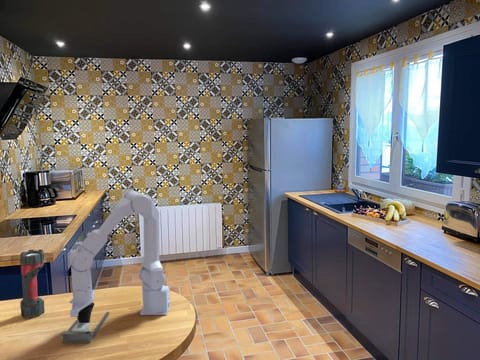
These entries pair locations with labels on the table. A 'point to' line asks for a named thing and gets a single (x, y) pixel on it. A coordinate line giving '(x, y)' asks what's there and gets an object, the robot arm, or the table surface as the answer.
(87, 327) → the block
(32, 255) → the flashlight
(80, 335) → the rail
